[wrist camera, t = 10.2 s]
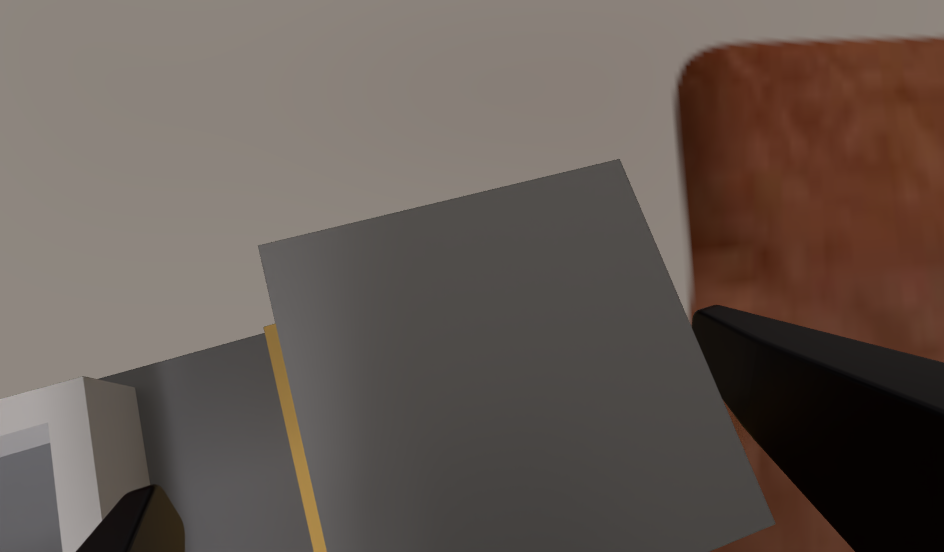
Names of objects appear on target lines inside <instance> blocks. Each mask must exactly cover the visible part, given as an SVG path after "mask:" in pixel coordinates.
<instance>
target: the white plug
mask: <svg viewBox="0 0 944 552" xmlns="http://www.w3.org/2000/svg"><path fill="white" fill-rule="evenodd" d="M258 247H259V252H260V256H261V261H262V265H263V269H264V274H265V279H266V283H267V288H268V292H269V297H270V301H271V306H272V309H273V314H274V319H275V323H276V328H277V332H278V337H279V341H280V346H281V350H282V354H283V359H284V363H285V368H286V372H287V377H288V381H289V386H290V390H291V394H292V399H293V403H294V408H295V412H296V417H297V421H298V426H299V430H300V434H301V439H302V443H303V448H304V452H305V457H306V461H307V466H308V470H309V474H310V479H311V483H312V488H313V492H314V497H315V501H316V506H317V510H318V514H319V519H320V523H321V528H322V532H323V537H324V541H325V546H326V550H327V552H709V551H712V550H714V549H717V548H719V547H721V546H724V545H726V544H729V543H731V542H733V541H736V540H738V539H741V538H743V537H745V536H748V535H750V534H753V533H755V532H757V531H760V530H762V529H765V528H767V527H769V526H772V525H774V524H775V521H774V519H773V517H772V514H771V512H770V510H769V507H768V505H767V503H766V500H765V498H764V496H763V493H762V491H761V489H760V486H759V484H758V482H757V479H756V477H755V475H754V472H753V470H752V468H751V465H750V463H749V461H748V458H747V456H746V454H745V451H744V449H743V447H742V444H741V442H740V440H739V437H738V435H737V433H736V430H735V428H734V426H733V423H732V421H731V419H730V416H729V414H728V411H727V409H726V407H725V404H724V402H723V400H722V397H721V395H720V393H719V390H718V388H717V386H716V383H715V381H714V379H713V376H712V374H711V372H710V369H709V367H708V365H707V362H706V360H705V358H704V355H703V353H702V351H701V348H700V346H699V344H698V341H697V339H696V337H695V334H694V332H693V330H692V327H691V325H690V323H689V320H688V318H687V316H686V313H685V311H684V309H683V306H682V304H681V302H680V299H679V297H678V295H677V292H676V290H675V288H674V285H673V283H672V280H671V278H670V276H669V273H668V271H667V269H666V266H665V264H664V262H663V259H662V257H661V255H660V253H659V250H658V248H657V245H656V243H655V241H654V238H653V236H652V234H651V231H650V229H649V227H648V224H647V222H646V220H645V217H644V215H643V213H642V211H641V208H640V206H639V203H638V201H637V199H636V196H635V194H634V192H633V189H632V187H631V185H630V182H629V180H628V178H627V175H626V173H625V171H624V168H623V166H622V164H621V161H620V159H617V160H613V161H609V162H605V163H601V164H596V165H592V166H588V167H584V168H580V169H576V170H572V171H567V172H563V173H559V174H555V175H551V176H547V177H542V178H538V179H534V180H530V181H526V182H521V183H517V184H513V185H509V186H505V187H500V188H497V189H492V190H488V191H484V192H480V193H475V194H471V195H467V196H463V197H459V198H455V199H450V200H447V201H442V202H438V203H434V204H430V205H425V206H421V207H417V208H413V209H409V210H404V211H400V212H396V213H392V214H388V215H384V216H380V217H376V218H372V219H367V220H363V221H359V222H354V223H351V224H346V225H342V226H338V227H334V228H329V229H325V230H321V231H317V232H313V233H308V234H304V235H300V236H296V237H292V238H288V239H284V240H279V241H275V242H271V243H267V244H263V245H259V246H258Z"/></svg>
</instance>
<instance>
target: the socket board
mask: <svg viewBox="0 0 944 552" xmlns="http://www.w3.org/2000/svg"><path fill="white" fill-rule="evenodd" d="M264 331H265V333H263V334H259V335H256V336H252V337H248V338H245V339H241V340H238V341H234V342H230V343H227V344H223V345H220V346H216V347H213V348H209V349H205V350H202V351H198V352H194V353H191V354H187V355H183V356H180V357H176V358H173V359H169V360H165V361H162V362H158V363H154V364H151V365H147V366H143V367H140V368H136V369H133V370H129V371H126V372H122V373H118V374H115V375H111V376H107V377H104V378H100V379H93V378H89V377H84V376H82V377H79V378H75V379H71V380H68V381H64V382H60V383H57V384H53V385H50V386H46V387H42V388H38V389H35V390H31V391H27V392H24V393H20V394H16V395H13V396H9V397H6V398H2V399H0V552H76V551H77V549H78V548H79V547H80V546H81V545H82V543H83V542H84V541H85V540H86V539H87V538H88V536H89V535H90V534H91V533H92V532H93V531H94V529H95V528H96V527H97V526H98V525H99V524H100V522H101V521H102V520H103V519H104V518H105V516H106V515H107V514H108V513H109V512H110V511H111V509H112V508H113V507H114V506H115V505H116V504H117V502H118V501H119V500H120V499H121V498H122V497H123V496H124V495H125V494H126V493H128V492H130V491H132V490H136V489H139V488H142V487H145V486H148V485H151V484H157V485H159V486H161V487H162V488H163V489H164V491H165V493H166V494H167V496H168V497H169V499H170V501H171V502H172V504H173V505H174V507H175V509H176V510H177V512H178V514H179V515H180V517H181V519H182V521H183V524H184V529H185V552H327V550H326V546H325V541H324V537H323V532H322V528H321V523H320V519H319V514H318V510H317V506H316V501H315V497H314V492H313V488H312V483H311V479H310V474H309V470H308V466H307V461H306V457H305V452H304V448H303V443H302V439H301V434H300V430H299V426H298V421H297V417H296V412H295V408H294V403H293V399H292V394H291V390H290V386H289V381H288V377H287V372H286V368H285V363H284V359H283V354H282V350H281V346H280V341H279V337H278V332H277V328H276V324H272V325H269V326H265V327H264Z"/></svg>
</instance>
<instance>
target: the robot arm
mask: <svg viewBox="0 0 944 552" xmlns="http://www.w3.org/2000/svg"><path fill="white" fill-rule="evenodd" d="M692 330H693V332H694V334H695V337H696V339H697V341H698V344H699V346H700V348H701V351H702V353H703V355H704V358H705V360H706V362H707V365H708V367H709V369H710V372H711V374H712V376H713V379H714V381H715V383H716V386H717V388H718V390H719V393H720V395H721V397H722V399H723V400H724V402H725V403H726V404H727V406H728V407H729V409H730V410H731V411H732V413H733V414H734V415H735V417H736V418H737V419H738V421H739V422H740V423H741V424H742V426H743V427H744V428H745V429H746V430H747V432H748V433H749V434H750V435H751V436H752V438H753V439H754V440H755V441H756V442H757V443H758V444H759V445H760V446H761V448H762V449H763V450H764V451H765V452H766V453H767V454H768V455H769V456H770V458H771V459H772V460H773V461H774V462H775V463H776V464H777V465H778V466H779V468H780V469H781V470H782V471H783V472H784V473H785V474H786V475H787V477H788V478H789V479H790V480H791V481H792V482H793V483H794V484H795V485H796V487H797V488H798V489H799V490H800V491H801V492H802V493H803V494H804V495H805V497H806V498H807V499H808V500H809V501H810V502H811V503H812V504H813V505H814V507H815V508H816V509H817V510H818V511H819V512H820V513H821V514H822V515H823V517H824V518H825V519H826V520H827V521H828V522H829V523H830V524H831V525H832V527H833V528H834V529H835V530H836V531H837V532H838V533H839V534H840V535H841V537H842V538H843V539H844V540H845V541H846V542H847V543H848V544H849V545H850V547H851V548H852V549H853V550H854V551H855V552H944V363H943V362H939V361H935V360H931V359H928V358H924V357H920V356H916V355H912V354H908V353H904V352H900V351H896V350H892V349H888V348H884V347H881V346H877V345H873V344H869V343H865V342H861V341H857V340H853V339H849V338H845V337H841V336H837V335H834V334H830V333H826V332H822V331H818V330H814V329H810V328H806V327H802V326H798V325H795V324H791V323H787V322H783V321H779V320H775V319H771V318H767V317H763V316H759V315H755V314H752V313H748V312H744V311H740V310H736V309H732V308H728V307H724V306H720V305H713V306H709V307H706V308H703V309H700V310H698V311H696V312H695V313H694V315H693V319H692ZM76 552H185V529H184V524H183V521H182V519H181V517H180V515H179V514H178V512H177V510H176V509H175V507H174V505H173V504H172V502H171V501H170V499H169V497H168V496H167V494H166V493H165V491H164V489H163V488H162V487H161V486H159V485H157V484H151V485H148V486H145V487H142V488H139V489H136V490H132V491H130V492H128V493H126V494H125V495H124V496H123V497H122V498H121V499H120V500H119V501H118V502H117V504H116V505H115V506H114V507H113V508H112V509H111V511H110V512H109V513H108V514H107V515H106V516H105V518H104V519H103V520H102V521H101V522H100V524H99V525H98V526H97V527H96V528H95V529H94V531H93V532H92V533H91V534H90V535H89V536H88V538H87V539H86V540H85V541H84V542H83V543H82V545H81V546H80V547H79V548H78V549H77V551H76Z"/></svg>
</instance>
